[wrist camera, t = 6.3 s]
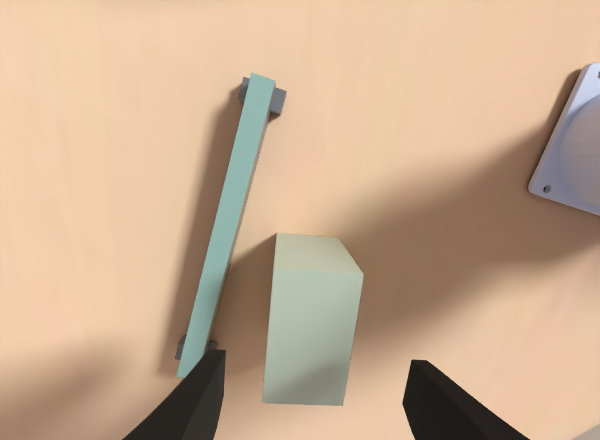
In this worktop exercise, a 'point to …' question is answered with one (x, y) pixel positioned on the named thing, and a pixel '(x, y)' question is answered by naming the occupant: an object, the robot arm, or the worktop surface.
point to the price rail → (229, 215)
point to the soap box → (310, 321)
